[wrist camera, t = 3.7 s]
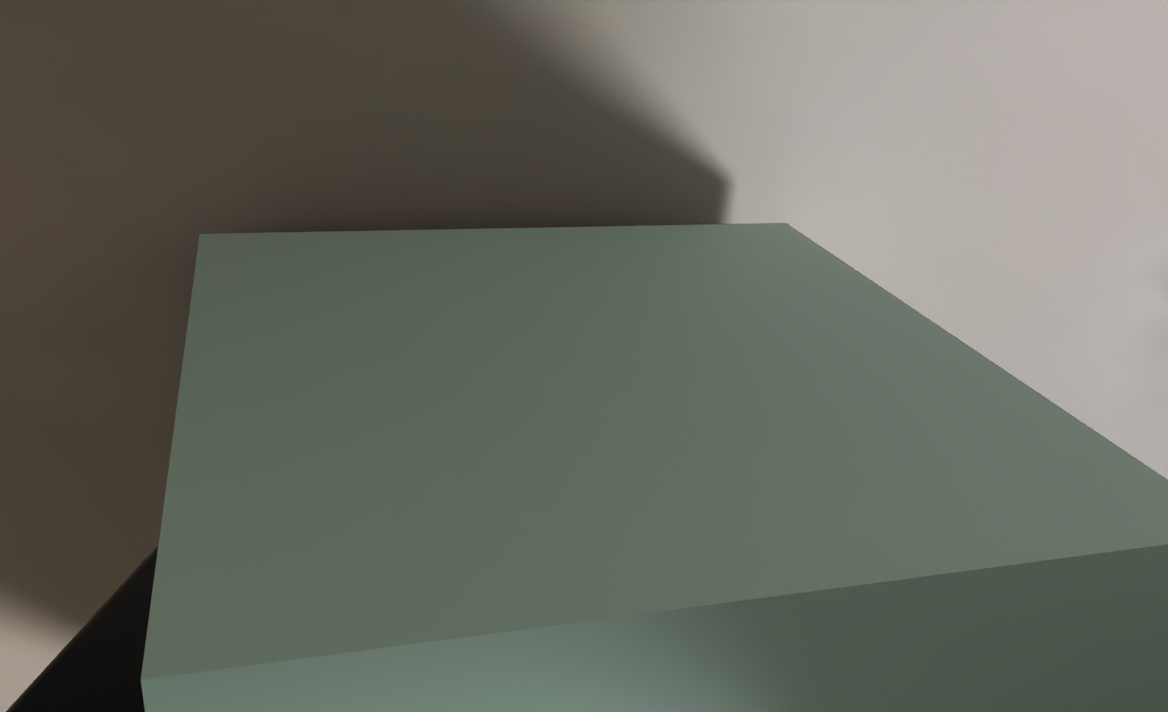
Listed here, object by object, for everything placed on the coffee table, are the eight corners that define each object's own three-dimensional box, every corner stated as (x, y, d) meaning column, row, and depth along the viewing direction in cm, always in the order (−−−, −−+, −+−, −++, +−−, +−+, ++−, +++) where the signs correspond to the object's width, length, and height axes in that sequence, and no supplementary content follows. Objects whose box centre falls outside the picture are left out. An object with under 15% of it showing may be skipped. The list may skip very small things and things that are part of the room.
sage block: (717, 658, 11) (1003, 1144, 7) (241, 729, 10) (235, 1389, 6) (785, 223, 9) (1248, 532, 5) (200, 233, 8) (140, 679, 4)
